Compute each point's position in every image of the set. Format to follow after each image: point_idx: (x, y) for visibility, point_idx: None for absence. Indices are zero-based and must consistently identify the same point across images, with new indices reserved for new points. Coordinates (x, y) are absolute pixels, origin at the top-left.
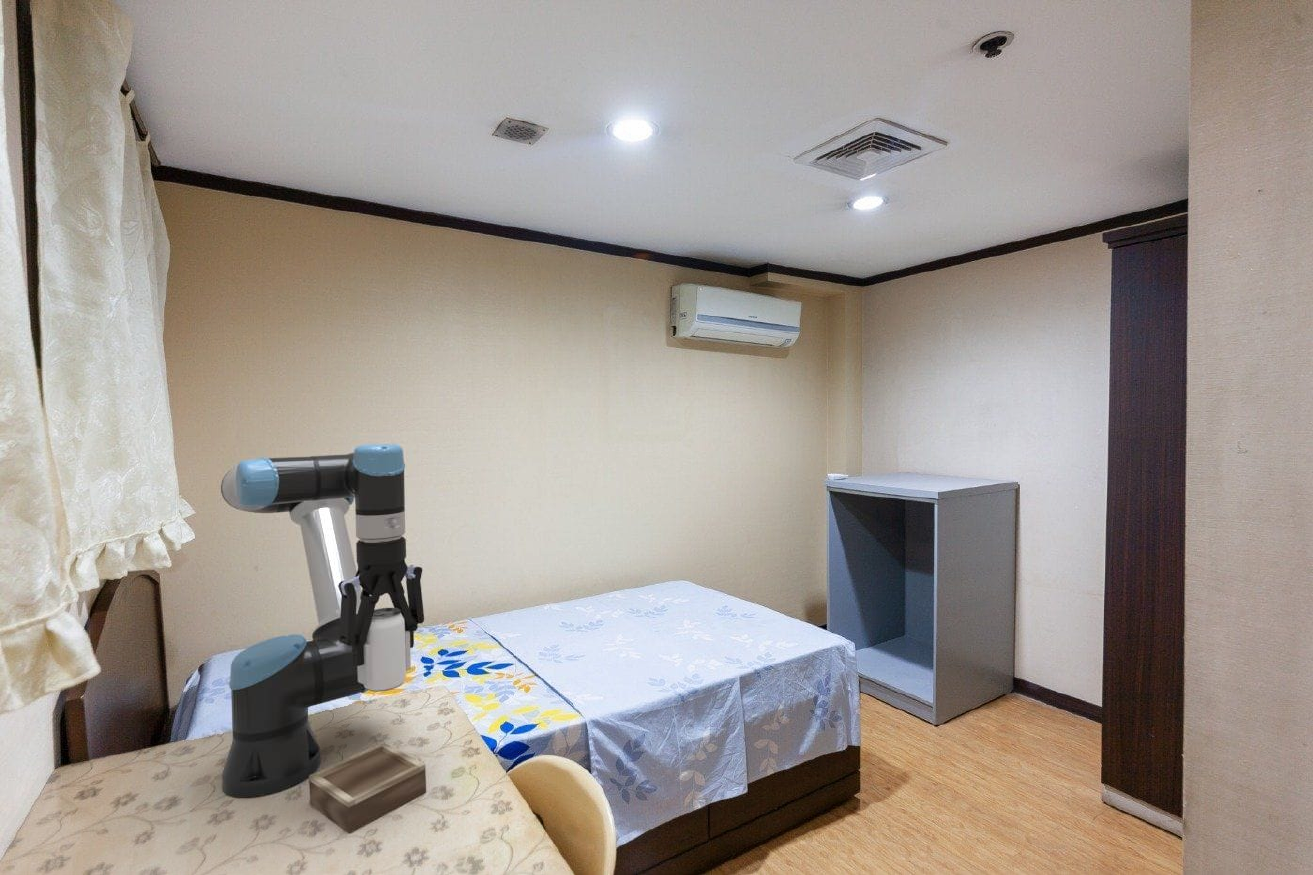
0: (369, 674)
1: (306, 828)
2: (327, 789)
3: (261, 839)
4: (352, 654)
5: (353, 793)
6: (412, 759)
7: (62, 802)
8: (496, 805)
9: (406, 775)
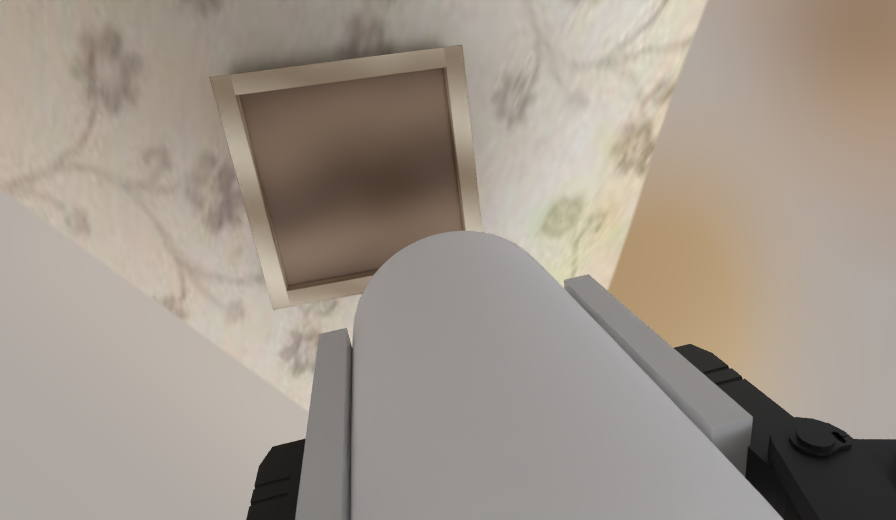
0: None
1: (205, 188)
2: (243, 200)
3: (99, 154)
4: (250, 511)
5: (302, 250)
6: (475, 221)
7: None
8: None
9: None
